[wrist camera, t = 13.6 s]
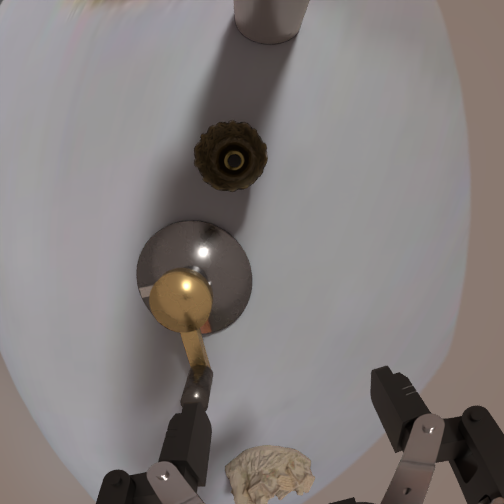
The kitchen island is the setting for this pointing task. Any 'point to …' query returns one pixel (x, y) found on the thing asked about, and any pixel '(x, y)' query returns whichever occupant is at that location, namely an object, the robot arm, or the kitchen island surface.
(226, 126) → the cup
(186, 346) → the gold lever handle
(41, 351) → the kitchen island surface
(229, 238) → the post base
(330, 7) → the kitchen island surface
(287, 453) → the ceramic cottage
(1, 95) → the kitchen island surface
